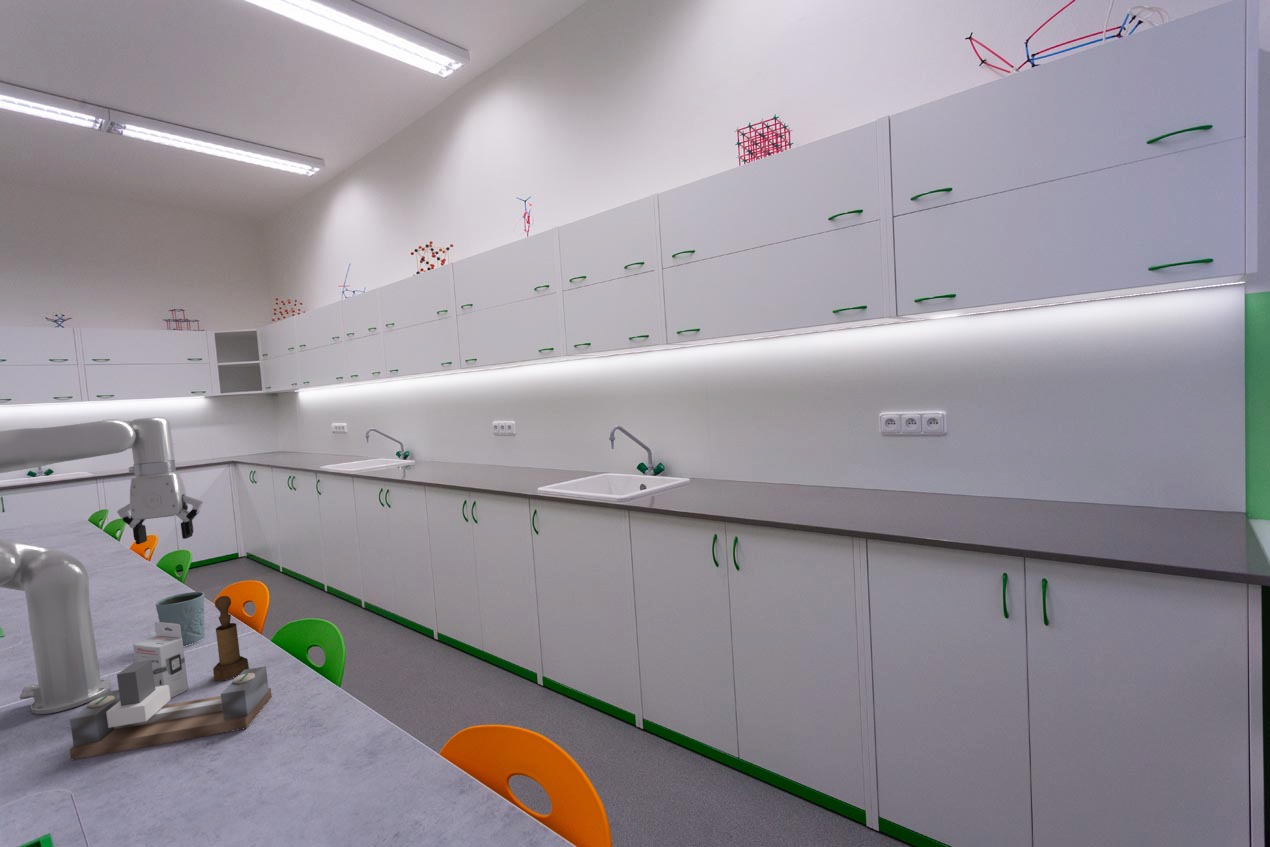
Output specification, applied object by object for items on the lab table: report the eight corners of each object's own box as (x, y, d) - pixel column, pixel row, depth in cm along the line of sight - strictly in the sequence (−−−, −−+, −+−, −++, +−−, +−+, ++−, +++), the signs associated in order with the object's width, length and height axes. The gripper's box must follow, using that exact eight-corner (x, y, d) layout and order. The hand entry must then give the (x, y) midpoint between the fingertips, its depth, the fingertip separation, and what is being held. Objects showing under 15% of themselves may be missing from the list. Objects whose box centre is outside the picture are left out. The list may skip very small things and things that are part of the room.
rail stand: (71, 760, 104) (65, 718, 104) (115, 723, 116) (110, 686, 115) (246, 728, 110) (241, 689, 109) (271, 696, 122) (267, 661, 121)
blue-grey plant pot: (152, 648, 153) (146, 603, 153) (194, 632, 163) (188, 590, 162) (177, 652, 150) (171, 606, 149) (218, 635, 159) (212, 592, 158)
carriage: (108, 727, 107) (101, 679, 106) (135, 705, 115) (129, 660, 114) (146, 721, 108) (139, 673, 108) (170, 699, 116) (164, 655, 115)
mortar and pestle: (230, 681, 130) (221, 602, 129) (206, 680, 132) (196, 602, 131) (255, 666, 137) (246, 591, 136) (232, 666, 138) (223, 591, 137)
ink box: (138, 697, 126) (129, 630, 125) (163, 685, 131) (154, 621, 130) (165, 701, 123) (156, 633, 123) (189, 689, 128) (181, 623, 127)
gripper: (102, 475, 134) (112, 549, 135) (188, 467, 138) (197, 539, 139) (123, 471, 142) (133, 541, 143) (204, 464, 145) (213, 532, 146)
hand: (164, 540), depth 141 cm, fingers open, 9 cm apart
